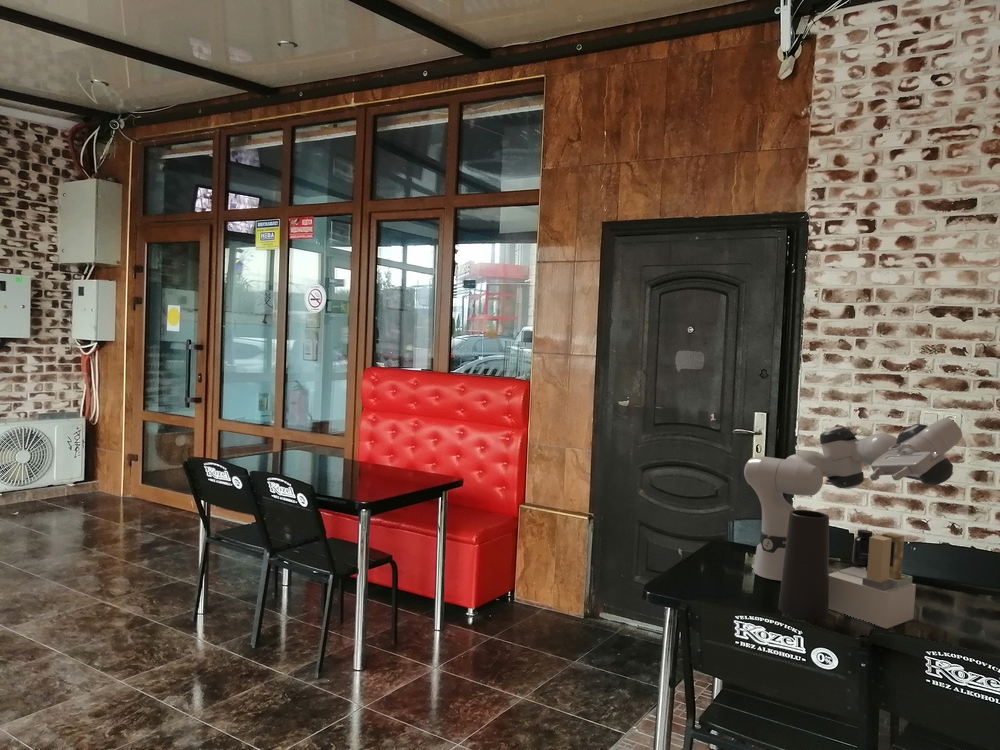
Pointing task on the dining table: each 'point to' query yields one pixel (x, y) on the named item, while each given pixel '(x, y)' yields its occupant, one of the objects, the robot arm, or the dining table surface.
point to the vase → (806, 566)
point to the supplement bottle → (861, 548)
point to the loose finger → (896, 555)
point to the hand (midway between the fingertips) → (883, 478)
